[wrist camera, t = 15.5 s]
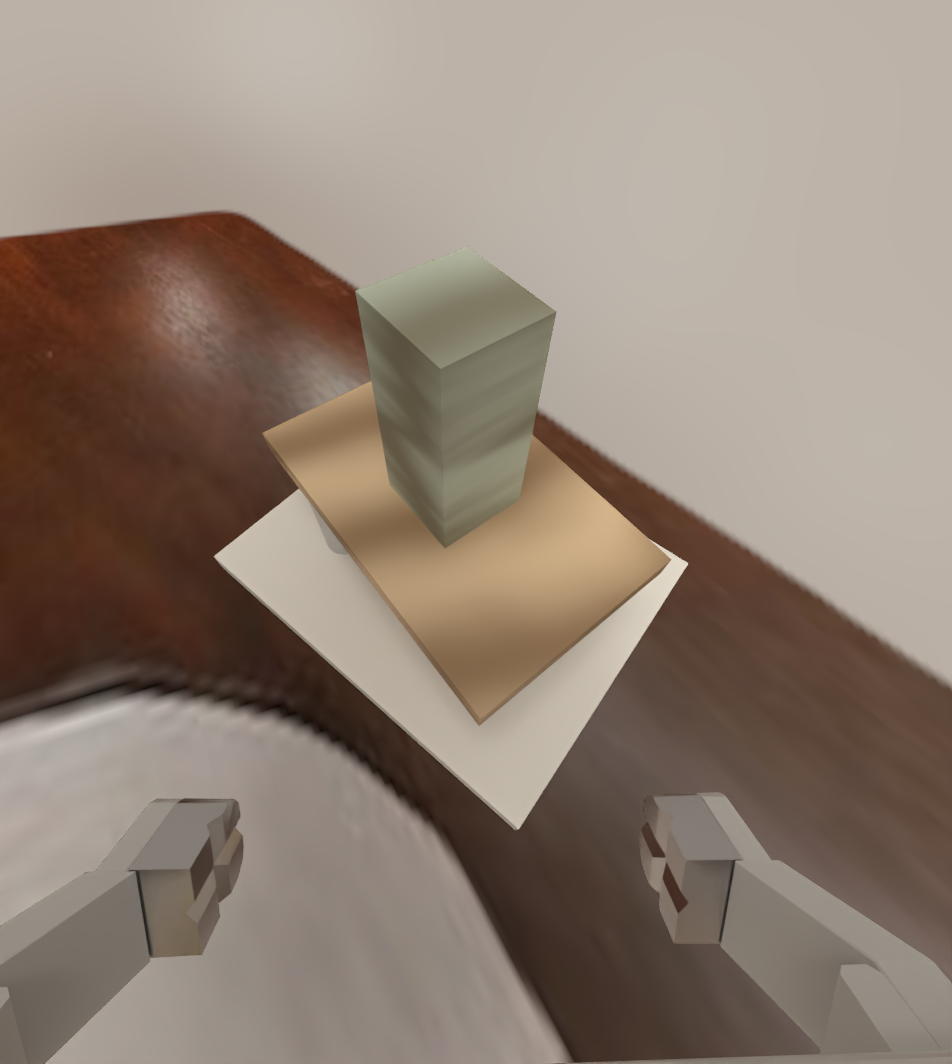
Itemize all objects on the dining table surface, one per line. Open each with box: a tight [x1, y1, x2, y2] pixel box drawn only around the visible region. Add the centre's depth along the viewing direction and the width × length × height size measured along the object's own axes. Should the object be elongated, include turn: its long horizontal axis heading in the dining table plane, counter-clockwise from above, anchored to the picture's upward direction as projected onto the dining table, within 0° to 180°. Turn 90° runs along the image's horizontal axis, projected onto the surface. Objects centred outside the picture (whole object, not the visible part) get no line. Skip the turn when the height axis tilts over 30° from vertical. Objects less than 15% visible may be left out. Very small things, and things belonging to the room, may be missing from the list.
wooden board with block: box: [262, 247, 672, 726], centre depth 18 cm, size 16×10×10 cm, turn 39°
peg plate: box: [214, 489, 688, 830], centre depth 25 cm, size 20×16×6 cm
